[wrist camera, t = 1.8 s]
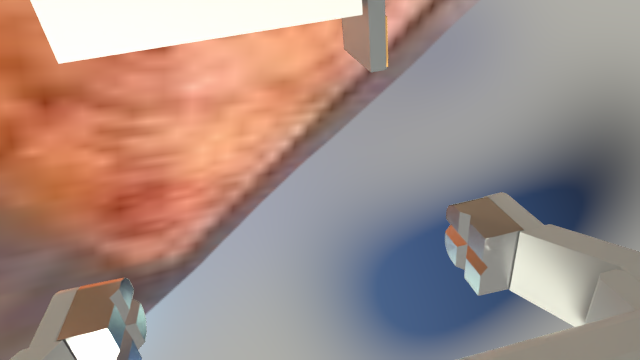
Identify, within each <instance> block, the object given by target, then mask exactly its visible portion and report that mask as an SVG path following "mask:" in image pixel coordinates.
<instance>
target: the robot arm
mask: <svg viewBox="0 0 640 360" xmlns="http://www.w3.org/2000/svg"><path fill="white" fill-rule="evenodd" d="M446 219H447V220H448V222H449V223H450V224H451V225H450V226H449V228H448V229H447V230H446V232H445V244H446V248H447V253H448V255H449V256H450V259H451V260H452V262H453V263H454V264H455V265H456V266H457V267H459V268H462V269H464V270H465V279H466V280H467V282H468V283H469V284H470V286H471V287H472V288H473V289H474V291H475V292H476V293H477V295H483V294H488V293H493V292H497V291H501V290H506V289H510V291H512V292H514V293H516V294H517V295H519V296H521V297H523V298H525V299H526V300H528V301H530V302H532V303H534V304H535V305H537V306H539V307H541V308H542V309H544V310H546V311H548V312H550V313H551V314H553V315H555V316H557V317H558V318H560V319H562V320H564V321H566V322H567V323H569V324H571V325H573V326H575V327H573V328H569V329H566V330H562V331H558V332H555V333H551V334H547V335H544V336H540V337H537V338H533V339H529V340H526V341H522V342H518V343H515V344H512V345H508V346H504V347H500V348H497V349H493V350H490V351H486V352H482V353H479V354H475V355H472V356H468V357H464V358H461V359H457V360H640V252H639V251H635V250H632V249H629V248H626V247H622V246H619V245H616V244H612V243H609V242H606V241H603V240H600V239H596V238H593V237H590V236H586V235H583V234H580V233H577V232H573V231H570V230H567V229H564V228H561V227H557V226H554V225H551V224H550V225H543V224H542V223H541V222H540V221H539V220H537V219H536V218H535V217H534V216H533V215H531V214H530V213H529V212H528V211H527V210H525V209H524V208H523V207H522V206H520V205H519V204H518V203H517V202H516V201H515V200H513V199H512V198H511V197H510V196H508V194H505V193H502V192H501V193H497V194H493V195H489V196H485V197H484V198H479V199H476V200H471V201H466V202H462V203H458V204H453V205H449V206H448V208H447V212H446ZM133 292H134V288H133V286H132V284H131V282H130V281H129V279H127V278H120V279H115V280H110V281H105V282H100V283H95V284H90V285H85V286H81V287H76V288H72V289H67V290H62V291H59V292H57V293H56V294H54V296H53V297H52V300H51V302H50V304H49V306H48V308H47V310H46V312H45V314H44V316H43V319H42V321H41V323H40V325H39V327H38V329H37V331H36V333H35V335H34V337H33V340H32V342H31V344H30V346H29V348H28V349H24V350H21V351H19V352H18V353H17V354H16V355H15V356H14V357H12V358H11V359H10V360H142V357H141V355H140V353H139V351H138V349H139V348H140V347H141V346H142V345H143V344H144V342H145V338H146V332H147V331H146V318H145V314H144V310H143V308H142V306H141V303H140V302H138V301H136V300H134V299H132V297H133Z"/></svg>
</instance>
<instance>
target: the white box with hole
mask: <svg viewBox="0 0 640 360" xmlns="http://www.w3.org/2000/svg"><path fill="white" fill-rule="evenodd" d="M30 1H31V3H32V5H33V7H34V10H35V12H36V14H37V16H38V19H39V21H40V23H41V25H42V28H43V30H44V32H45V34H46V37H47V39H48V41H49V43H50V46H51V48H52V50H53V52H54V55H55V57H56V59H57V61H58V64H60V63H66V62H72V61H78V60H84V59H91V58H97V57H103V56H109V55H116V54H122V53H128V52H134V51H140V50H147V49H153V48H159V47H165V46H172V45H178V44H184V43H190V42H196V41H203V40H209V39H215V38H221V37H227V36H234V35H240V34H246V33H252V32H259V31H265V30H271V29H277V28H283V27H290V26H296V25H302V24H308V23H314V22H321V21H327V20H333V19H339V18H346V17H352V16H358V15H363V12H362V0H30Z"/></svg>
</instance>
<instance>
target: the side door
mask: <svg viewBox="0 0 640 360" xmlns="http://www.w3.org/2000/svg"><path fill="white" fill-rule="evenodd" d="M362 12H363V15H358V16H352V17H346V18H342V27H343V40H344V50H346V51H347V52H348V53H349V54H350V55H351V56H352V57H354V58H355V59H356V60H357V61H358V62H359V63H361V64H362V65H363V66H364V67H365V68H366V69H367V70H369V71H370V72H376V71H382V70H386V67H388V38H387V16H386V15H385V0H362Z"/></svg>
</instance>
